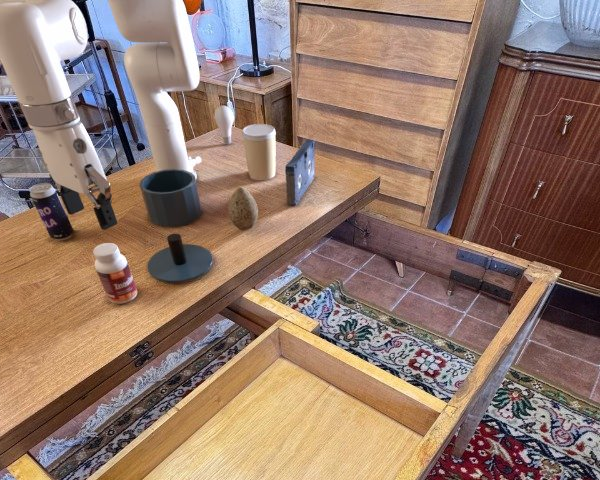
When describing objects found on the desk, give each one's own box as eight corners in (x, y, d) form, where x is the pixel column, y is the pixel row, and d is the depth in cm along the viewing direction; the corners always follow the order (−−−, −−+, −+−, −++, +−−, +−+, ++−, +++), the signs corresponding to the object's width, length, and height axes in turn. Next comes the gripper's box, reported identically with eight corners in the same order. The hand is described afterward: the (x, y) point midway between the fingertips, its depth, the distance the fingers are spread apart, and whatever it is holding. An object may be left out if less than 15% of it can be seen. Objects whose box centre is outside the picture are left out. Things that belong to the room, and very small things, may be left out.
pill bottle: (124, 308, 91) (105, 261, 83) (102, 299, 93) (81, 253, 85) (144, 292, 95) (128, 245, 86) (122, 284, 96) (104, 237, 88)
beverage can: (51, 232, 111) (27, 184, 102) (74, 228, 112) (53, 180, 103) (51, 244, 108) (27, 195, 98) (75, 239, 109) (53, 190, 100)
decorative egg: (237, 238, 108) (231, 197, 100) (226, 225, 112) (220, 185, 104) (263, 230, 110) (260, 190, 102) (252, 218, 114) (248, 178, 106)
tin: (176, 196, 122) (169, 164, 116) (212, 210, 117) (206, 177, 110) (138, 217, 115) (128, 184, 109) (174, 232, 110) (165, 199, 103)
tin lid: (182, 242, 107) (175, 213, 102) (226, 261, 101) (221, 232, 96) (135, 270, 100) (125, 241, 94) (180, 293, 94) (172, 263, 88)
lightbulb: (240, 145, 144) (235, 107, 136) (222, 149, 143) (217, 110, 134) (232, 139, 148) (227, 101, 139) (215, 143, 146) (209, 105, 138)
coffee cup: (280, 168, 133) (278, 123, 123) (275, 182, 127) (272, 136, 118) (250, 167, 134) (245, 122, 124) (243, 181, 128) (238, 135, 119)
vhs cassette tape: (306, 176, 129) (306, 138, 121) (316, 177, 128) (316, 139, 121) (285, 205, 118) (283, 166, 110) (295, 206, 117) (294, 167, 110)
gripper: (106, 115, 66) (140, 224, 79) (40, 95, 73) (81, 198, 86) (62, 130, 62) (105, 242, 75) (-3, 108, 69) (47, 214, 82)
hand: (92, 219), depth 80 cm, fingers open, 9 cm apart
